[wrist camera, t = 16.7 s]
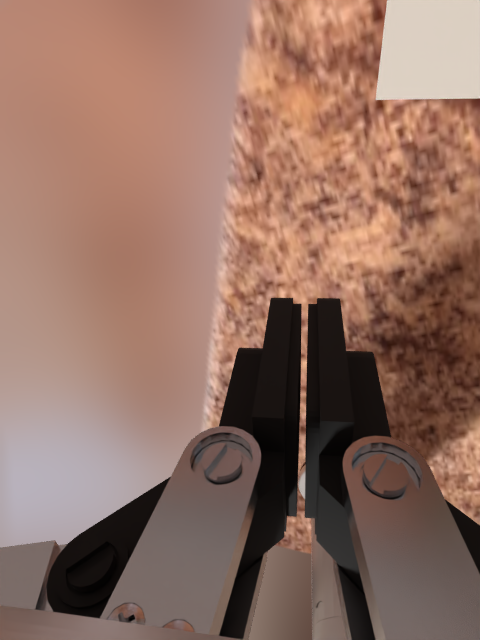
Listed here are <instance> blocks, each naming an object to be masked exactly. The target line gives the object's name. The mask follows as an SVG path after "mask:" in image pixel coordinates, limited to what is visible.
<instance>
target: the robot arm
mask: <svg viewBox="0 0 480 640" xmlns="http://www.w3.org/2000/svg"><path fill="white" fill-rule="evenodd" d="M300 386H301V304H293V298H271V301H270V307H269V313H268V320H267V326H266V332H265V338H264V344H263V349H262V348H239V349H238V352H237V355H236V359H235V363H234V367H233V371H232V375H231V379H230V384H229V388H228V392H227V396H226V400H225V404H224V408H223V412H222V416H221V420H220V424H219V427H215V428H210V429H208V430H206V431H204V432H201V433H200V434H198V435H197V436H196V437H195V438H193V439H192V440H191V441H190V443H189V444H188V446H187V447H186V448H185V450H184V452H183V454H182V456H181V458H180V460H179V462H178V464H177V466H176V468H175V470H174V472H173V474H172V476H171V477H169V478H168V479H166V480H165V481H163V482H162V483H160V484H158V485H157V486H155V487H154V488H152V489H150V490H149V491H148V492H146V493H144V494H143V495H141V496H139V497H138V498H136V499H135V500H133V501H131V502H130V503H128V504H127V505H125V506H124V507H122V508H120V509H119V510H117V511H116V512H114V513H113V514H111V515H109V516H108V517H106V518H105V519H103V520H101V521H100V522H98V523H97V524H95V525H94V526H92V527H90V528H89V529H87V530H86V531H84V532H83V533H81V534H79V535H78V536H77V537H76V538H74V539H73V540H72V541H71V542H69V543H68V544H65V545H58V544H57V543H56V541H47V542H40V543H32V544H26V545H17V546H10V547H3V548H0V640H248V638H249V634H250V630H251V626H252V621H253V617H254V613H255V608H256V604H257V600H258V596H259V591H260V587H261V583H262V578H263V574H264V570H265V566H266V562H267V553H268V550H269V549H270V548H272V547H273V546H274V545H275V544H276V543H278V542H279V541H280V540H281V539H282V538H284V531H286V522H287V516H295V517H296V516H297V487H298V480H299V490H300V493H301V494H302V496H303V497H304V499H305V518H311V527H312V640H480V525H478V524H477V523H476V522H474V521H473V520H472V519H470V518H469V517H468V516H466V515H465V514H464V513H462V512H461V511H460V510H458V509H457V508H456V507H454V506H453V505H452V504H450V503H449V502H448V501H446V500H445V499H444V497H443V495H442V492H441V490H440V488H439V486H438V484H437V482H436V480H435V477H434V475H433V473H432V471H431V469H430V467H429V465H428V464H427V462H426V461H425V459H424V458H423V456H422V455H421V454H419V453H418V452H417V451H416V450H415V449H414V448H413V447H411V446H409V445H408V444H406V443H404V442H402V441H400V440H397V439H394V438H391V434H390V430H389V425H388V420H387V415H386V410H385V406H384V401H383V396H382V391H381V386H380V382H379V377H378V372H377V367H376V362H375V358H374V354H373V353H372V352H361V351H346V346H345V338H344V329H343V320H342V312H341V303H340V299H335V298H317V304H308V346H307V392H306V464H305V465H304V466H303V467H302V469H301V471H300V473H299V478H298V454H299V422H300Z"/></svg>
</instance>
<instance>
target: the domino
mask: <svg viewBox="0 0 480 640" xmlns="http://www.w3.org/2000/svg"><path fill="white" fill-rule="evenodd" d="M463 98H480V0H387V7H386V15H385V24H384V32H383V41H382V50H381V58H380V67H379V75H378V84H377V92H376V100H391V99H463Z"/></svg>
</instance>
